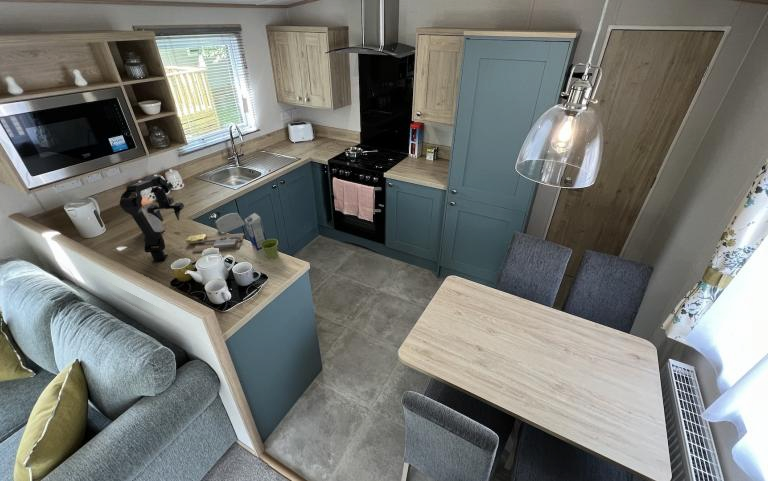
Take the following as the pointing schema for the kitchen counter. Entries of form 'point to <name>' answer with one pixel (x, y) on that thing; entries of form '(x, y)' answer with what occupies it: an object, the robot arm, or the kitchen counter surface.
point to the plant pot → (270, 248)
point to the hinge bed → (211, 244)
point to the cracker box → (151, 216)
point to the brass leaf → (195, 238)
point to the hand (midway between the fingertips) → (170, 220)
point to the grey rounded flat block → (229, 222)
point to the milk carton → (255, 230)
